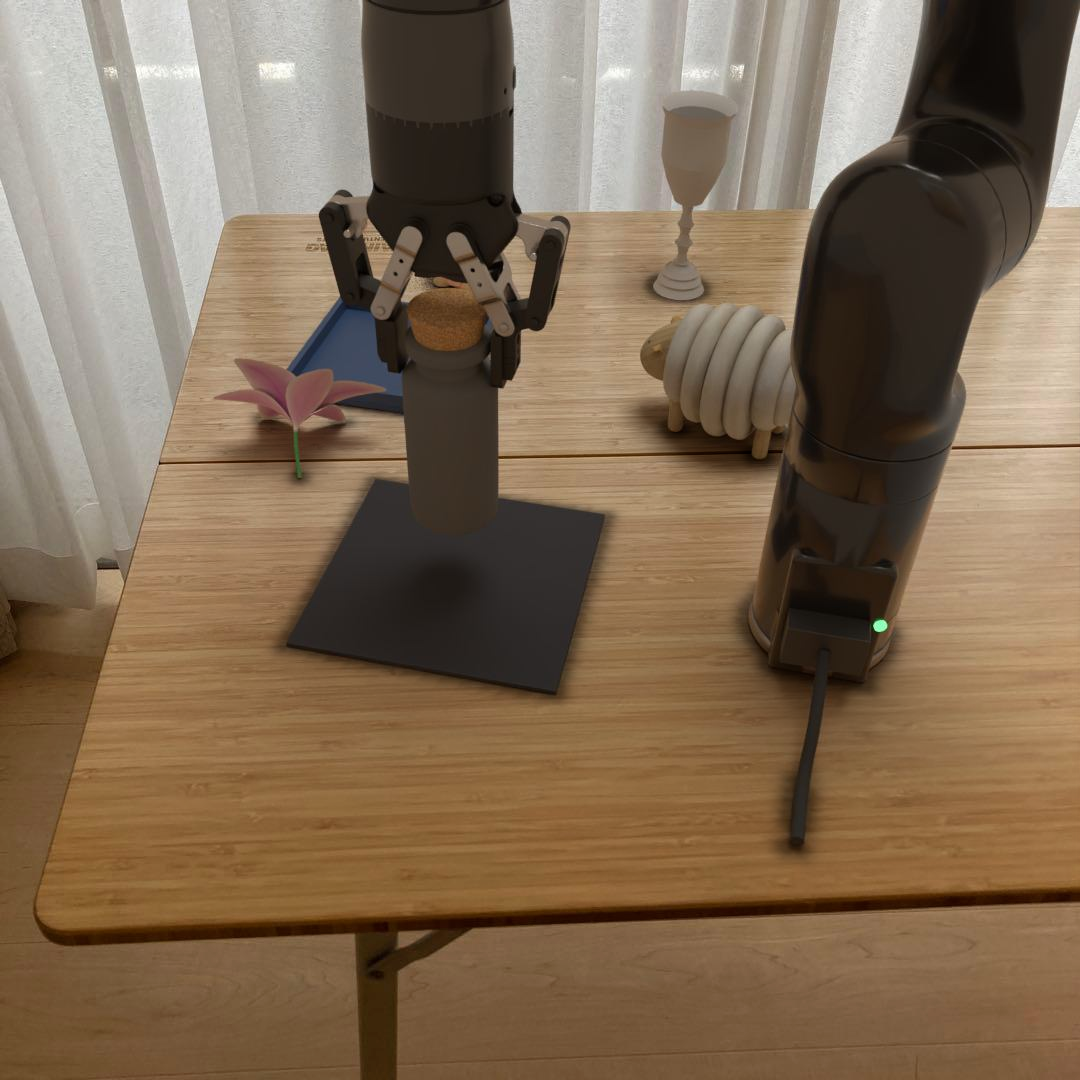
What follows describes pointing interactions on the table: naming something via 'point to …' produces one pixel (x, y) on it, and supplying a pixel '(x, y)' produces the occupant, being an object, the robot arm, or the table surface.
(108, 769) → the table surface
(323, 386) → the lily
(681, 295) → the chalice
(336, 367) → the tray
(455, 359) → the bottle
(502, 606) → the mat
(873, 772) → the table surface
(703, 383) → the toy sheep
